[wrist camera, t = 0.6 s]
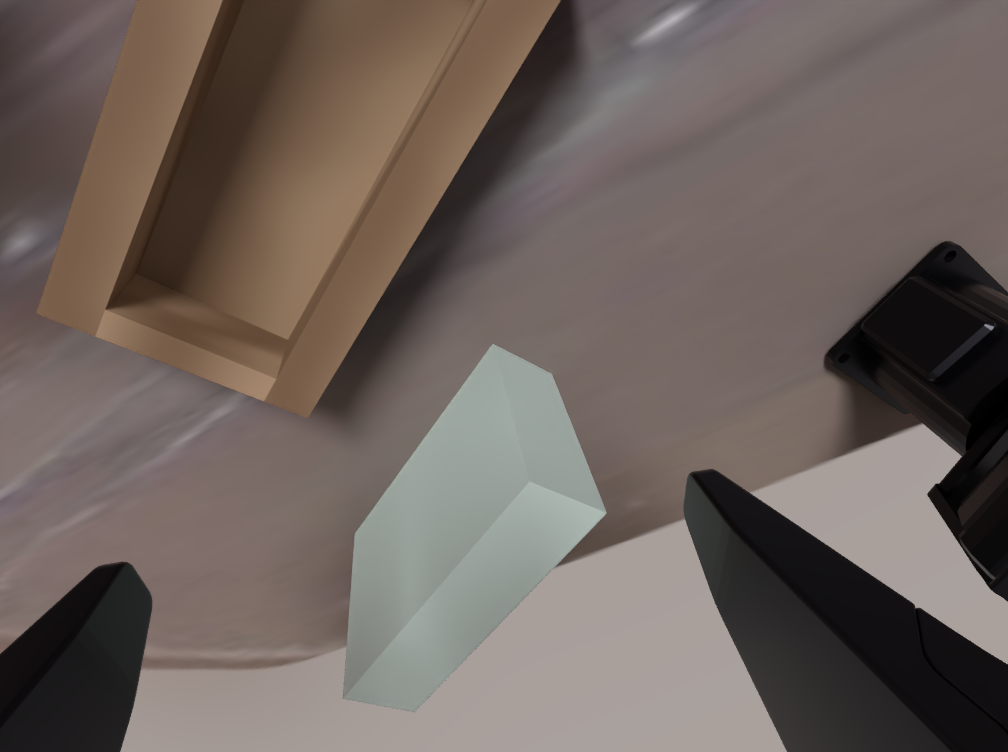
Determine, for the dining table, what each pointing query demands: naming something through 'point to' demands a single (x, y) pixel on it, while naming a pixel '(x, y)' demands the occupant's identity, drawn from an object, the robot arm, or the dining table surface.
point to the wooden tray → (274, 176)
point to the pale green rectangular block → (465, 532)
